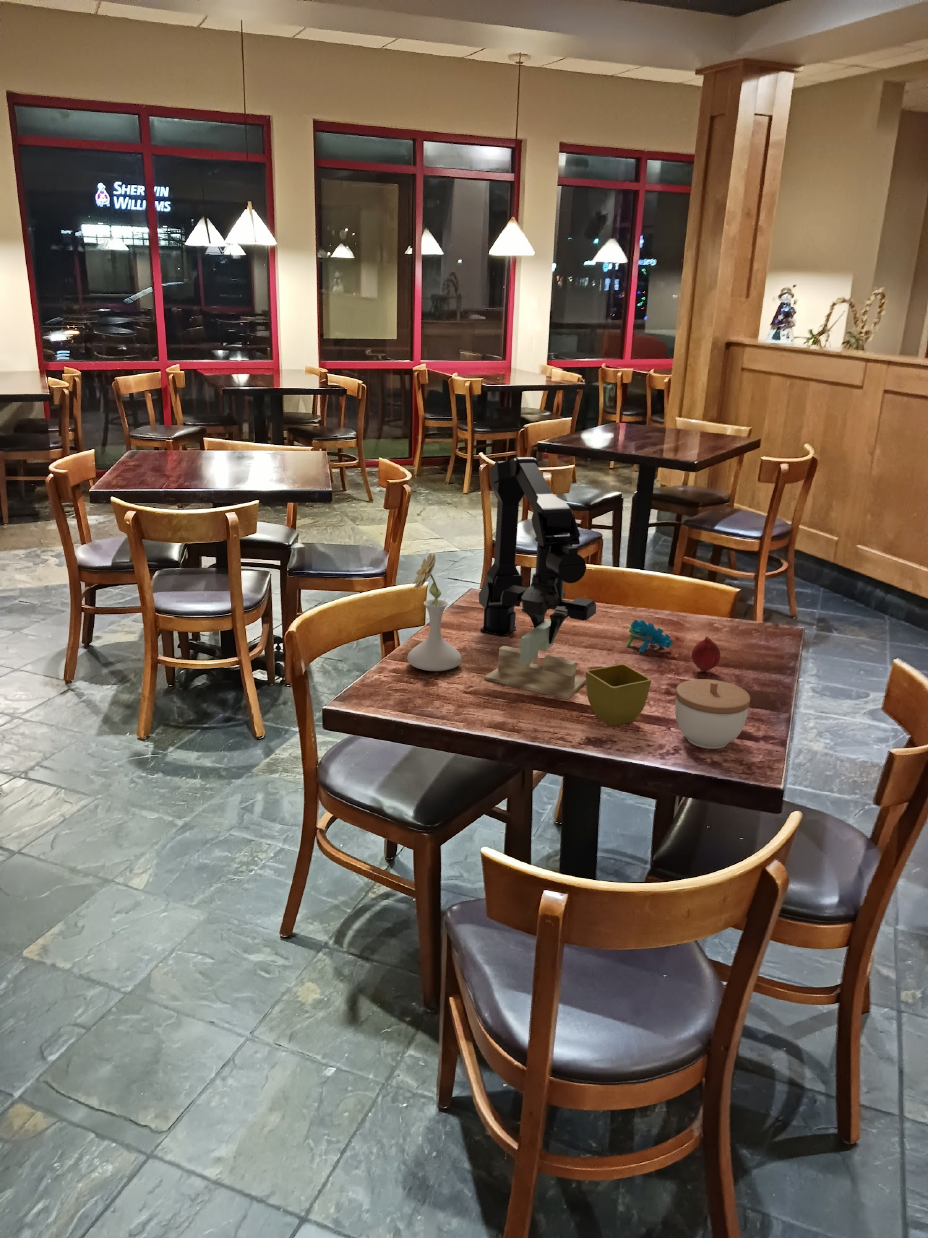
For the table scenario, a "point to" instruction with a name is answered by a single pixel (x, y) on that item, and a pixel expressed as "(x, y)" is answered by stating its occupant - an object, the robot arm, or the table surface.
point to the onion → (706, 654)
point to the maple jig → (537, 674)
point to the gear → (648, 635)
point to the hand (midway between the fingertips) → (545, 642)
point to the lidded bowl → (711, 712)
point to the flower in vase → (433, 629)
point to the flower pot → (617, 693)
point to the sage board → (535, 642)
